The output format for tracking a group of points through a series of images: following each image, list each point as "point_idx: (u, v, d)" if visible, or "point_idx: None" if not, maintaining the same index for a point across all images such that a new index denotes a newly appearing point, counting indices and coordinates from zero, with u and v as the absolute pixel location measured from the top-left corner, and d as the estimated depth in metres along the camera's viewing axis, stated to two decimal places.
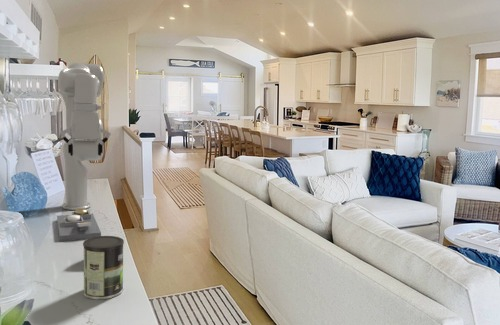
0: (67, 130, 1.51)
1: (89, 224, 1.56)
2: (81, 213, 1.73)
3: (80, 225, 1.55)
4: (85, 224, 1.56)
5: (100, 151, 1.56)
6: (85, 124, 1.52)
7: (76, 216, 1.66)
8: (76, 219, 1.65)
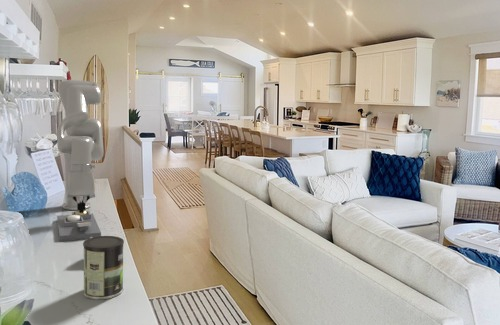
0: None
1: (89, 224, 1.56)
2: None
3: (80, 225, 1.55)
4: (85, 224, 1.56)
5: (83, 209, 1.74)
6: (80, 182, 1.71)
7: (76, 216, 1.66)
8: (76, 219, 1.65)
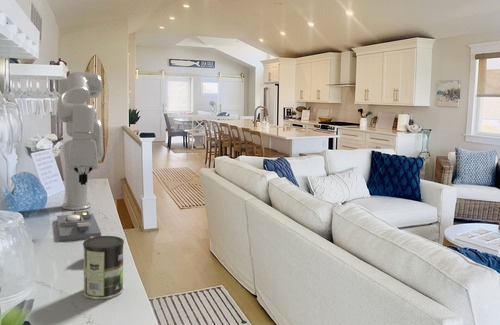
0: None
1: (89, 224, 1.56)
2: None
3: (80, 225, 1.55)
4: (85, 224, 1.56)
5: (85, 180, 1.62)
6: (82, 152, 1.60)
7: (76, 216, 1.66)
8: (76, 219, 1.65)
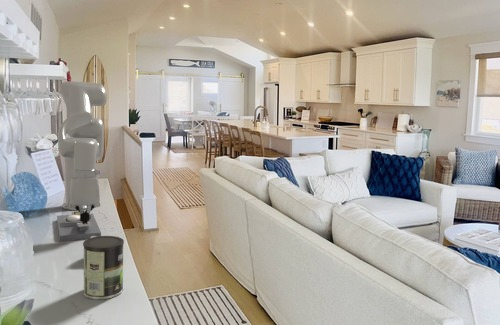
0: None
1: (89, 224, 1.56)
2: None
3: (80, 225, 1.55)
4: (85, 224, 1.56)
5: (87, 219, 1.55)
6: (84, 190, 1.52)
7: (76, 216, 1.66)
8: (76, 219, 1.65)
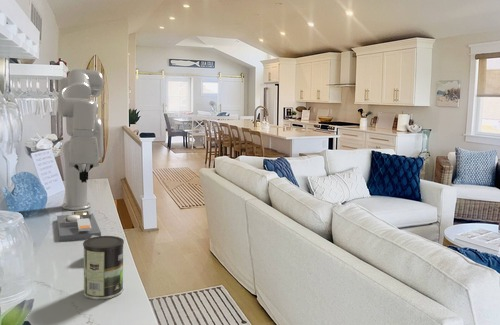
0: None
1: (89, 229, 1.56)
2: None
3: (80, 230, 1.55)
4: (85, 229, 1.55)
5: (85, 178, 1.58)
6: (83, 149, 1.55)
7: (76, 216, 1.66)
8: (76, 219, 1.65)
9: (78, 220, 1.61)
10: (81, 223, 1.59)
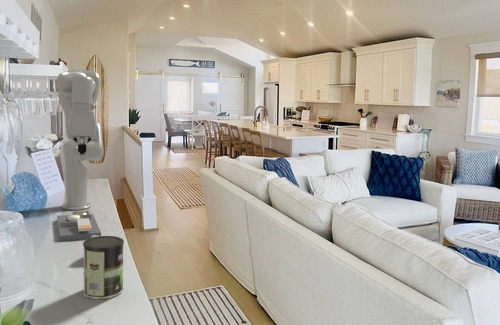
0: None
1: (89, 229, 1.56)
2: None
3: (80, 230, 1.55)
4: (85, 229, 1.55)
5: (84, 150, 1.67)
6: (81, 122, 1.64)
7: (76, 216, 1.66)
8: (76, 219, 1.65)
9: (78, 220, 1.61)
10: (81, 223, 1.59)
